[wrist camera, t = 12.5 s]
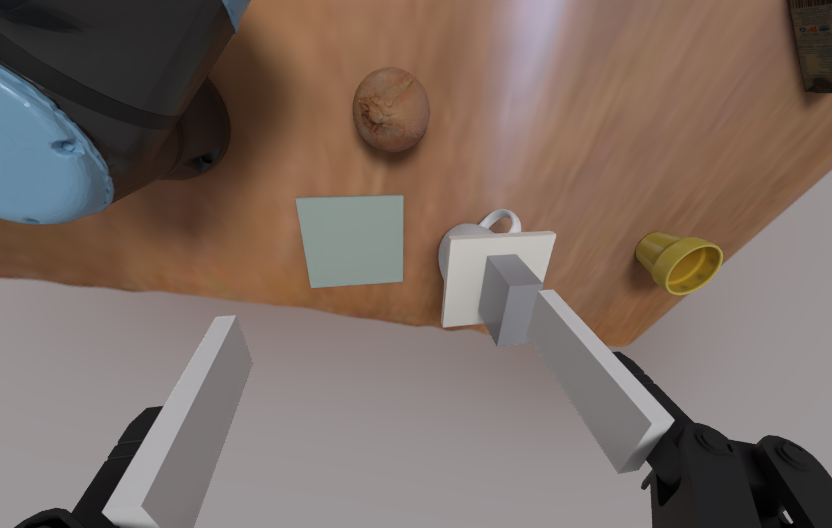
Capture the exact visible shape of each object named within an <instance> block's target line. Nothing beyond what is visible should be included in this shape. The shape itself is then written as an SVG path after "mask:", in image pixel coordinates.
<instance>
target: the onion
mask: <svg viewBox="0 0 832 528" xmlns="http://www.w3.org/2000/svg"><path fill="white" fill-rule="evenodd" d="M353 116H354V121H355V124H356V127H357V129H358V131H359V133H360V135H361V136H362V137H363V138H364V139H365V140H366V141H367V142H368V143H369V144H371V145H372V146H374V147H375V148H377V149H379V150H382V151H387V152H400V151H404V150H407V149H409V148H411V147H412V146H414V145H415V144H416V143H417V142H418V141H419V140H420V139H421V138H422V136H423V135H424V133H425V130H426V129H427V125H428V122H429V116H430V109H429V101H428V97H427V94H426V92H425V89H424V88H423V86H422V84H421V83H420V82H419V81H418V80H417V79H416V78H415V77H413V76H412V75H411V74H409V73H408V72H407V71H405V70H402V69H400V68H382V69H379V70H376V71H374V72H372V73H370V74H369V75H368V76H367V77H366V78H365V79H364V80H363V81H362V82H361V83H360V85H359V87H358V88H357V90H356V93H355V96H354V101H353Z"/></svg>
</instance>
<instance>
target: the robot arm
mask: <svg viewBox="0 0 832 528" xmlns="http://www.w3.org/2000/svg"><path fill="white" fill-rule="evenodd" d="M250 1H251V0H0V219H4V220H8V221H13V222H18V223H24V224H33V225H38V224H60V223H66V222H69V221H73V220H75V219H78V218H81V217H84V216H87V215H92V214H95V213H98V212H99V211H102V210H104V209H105V208H106V207H107V206H108V205H110V204H112V203H114V202H115V201H117V200H119V199H121V198H123V197H125V196H127V195H129V194H131V193H132V192H134V191H136V190H138V189H140V188H142V187H144V186H146V185H148V184H149V183H151V182H153V181H155V180H157V179H160V180H184V179H189V178H193V177H196V176H199V175H201V174H203V173H205V172H206V171H208V170H209V169H211V168H213V167H214V166H215V165H216V164H217V163H218V162H219V161H220V160H221V159H222V158H223V156H224V154H225V152H226V150H227V148H228V144H229V140H230V123H229V117H228V113H227V110H226V107H225V105H224V102H223V100H222V98H221V96H220V94H219V93H218V91H217V89H216V88H215V86H214V85H213V84H212V82H211V81H210V80H209V79H208V77H207V75H208V74H209V72H210V70H211V69H212V67H213V66H214V64H215V62H216V61H217V59H218V58H219V56H220V54H221V53H222V51H223V50H224V48H225V46H226V45H227V43H228V42H229V40H230V38H231V37H232V35H233V34H236V33H237V32H238V29H239V21H240V19H241V18H242V16H243V14H244V12H245V10H246V8H247V6H248V5H249V3H250ZM526 336H527V337H528V339H529V340H530V342H531V343H532V345H533V346H534V348H535V349H536V350H537V352H538V353H539V355H540V356H541V358H542V359H543V361H544V363H545V364H546V366H547V367H548V369H549V370H550V371H551V373H552V375H553V376H554V378H555V379H556V380H557V382H558V383H559V385H560V387H561V388H562V390H563V391H564V393H565V394H566V396H567V397H568V399H569V400H570V402H571V403H572V405H573V406H574V408H575V409H576V411H577V412H578V414H579V415H580V417H581V418H582V420H583V421H584V423H585V424H586V426H587V427H588V429H589V430H590V432H591V433H592V435H593V436H594V438H595V439H596V441H597V442H598V444H599V445H600V447H601V448H602V450H603V451H604V453H605V454H606V456H607V457H608V459H609V460H610V462H611V464H612V465H613V467H614V468H615V470H616V471H617V473H618V474H619V473H625V472H630V471H636V470H639V469H640V467H641V466H642V464H643V463H644V462H645V461H647V462H648V463H649V464H650V466H651V467H652V468H653V469H652V471H651V472H650V473H649V475H648V476H647V477H646V479H645V480H644V481H643V483H642V486H641V489H643V490H645V489H646V488H647V487H648V485H649V484H650V485H651V507H652V525H653V526H652V528H832V478H831V476H830V475H829V474H828V472H827V471H826V470H825V469H824V467H823V466H822V465H821V464H820V463H819V462H818V461H817V459H816V458H814V456H813V455H811V454H810V453H808V452H807V451H806V450H805V449H803V448H802V447H800V446H799V445H797V444H795V443H793V442H791V441H790V440H787V439H784V438H781V437H779V436H772V435H768V436H765V437H763V438H762V439H761V440H760V441H759V442H758V443H757V444H752V443H746V442H740V441H734V440H729V439H728V438H727V437H725V436H724V435H723V434H721V433H720V432H719V431H717V430H715V429H713V428H711V427H709V426H707V425H703V424H700V423H694V422H693V421H692V420H691V419H690V418H689V417H688V416H687V415H686V414H685V413H684V412H683V411H682V410H681V409H680V408H679V407H678V406H677V405H676V404H675V403H674V402H673V401H672V400H671V399H670V398H669V397H668V396H667V395H666V394H665V393H664V392H663V391H662V390H661V389H660V388H659V387H658V386H657V385H656V384H654V383H653V381H652V380H651V379H650V377H649V376H647V375H645V374H644V371H643V370H642V369H641V368H640V367H639V366H638V365H637V364H636V363H635V362H634V361H632V360H631V359H630V358H628V357H626V356H625V355H623V354H622V353H620V352H611V351H610V350H609V349H608V348H607V347H606V346H605V345H604V344H603V343H602V341H601V340H600V339H599V338H598V337H597V336H596V335H595V334H594V333H593V332H592V331H591V330H590V329H589V328H588V326H587V325H586V324H585V323H584V322H583V321H582V320H581V319H580V318H579V317H578V316H577V315H576V314H575V313H574V311H573V310H572V309H571V308H570V307H569V306H568V305H567V304H566V303H565V302H564V301H563V300H562V299H561V298H560V296H559V295H558V294H557V293H556V292H555V291H554V290H543V291H538V293H537V297H536V301H535V304H534V308H533V312H532V315H531V319H530V323H529V326H528V330H527V334H526ZM252 364H253V363H252V360H251V357H250V354H249V351H248V348H247V345H246V342H245V339H244V336H243V333H242V330H241V327H240V324H239V321H238V319H237V316H236V315H233V316H220V317H215V319H214V321H213V323H212V324H211V326H210V328H209V329H208V331H207V333H206V335H205V336H204V338H203V340H202V341H201V343H200V345H199V347H198V348H197V350H196V352H195V354H194V355H193V357H192V359H191V360H190V362H189V364H188V365H187V367H186V369H185V371H184V372H183V374H182V376H181V377H180V379H179V381H178V383H177V384H176V386H175V388H174V389H173V391H172V393H171V395H170V396H169V398H168V400H167V401H166V403H165V405H164V406H159V407H151V408H146V409H145V410H144V411H143V412H142V413H141V414H140V415H139V416H138V417H137V418H135V420H133V421H132V422H131V423H130V424H129V426H128V427H127V429H126V430H125V432H124V433H123V435H122V436H121V438H120V439H119V441H118V445H117V446H115V447H114V449H113V450H112V452H111V453H110V455H109V456H108V460H107V461H105V462H104V464H103V465H102V467H101V469H100V470H99V472H98V473H97V475H96V476H95V478H94V479H93V481H92V482H91V484H90V485H89V487H88V488H87V490H86V491H85V493H84V495H83V496H82V498H81V499H80V501H79V502H78V504H77V505H76V507H75V508H74V510H73V511H72V513H70V512H69V511H67V510H66V509H60V508H54V509H50V510H45V511H41V512H39V513H37V514H35V515H34V516H32V517H30V518H28V519H26V520H24V521H22V522H21V523H20V524H18V525H17V526H16V527H14V528H194V525H195V522H196V520H197V517H198V514H199V511H200V508H201V506H202V503H203V500H204V497H205V494H206V492H207V489H208V486H209V483H210V481H211V478H212V475H213V472H214V470H215V467H216V464H217V461H218V458H219V456H220V453H221V450H222V447H223V445H224V442H225V439H226V436H227V433H228V430H229V427H230V425H231V422H232V419H233V417H234V414H235V411H236V408H237V406H238V403H239V400H240V397H241V394H242V391H243V389H244V386H245V383H246V381H247V378H248V375H249V372H250V369H251V366H252ZM785 510H786V511H787V512H788V514H789V516H790V517H791V519H792V521H793V523H792V524H790V522H789V521H788V520H787V519H786V517H785V515H784V514H783V512H784V511H785Z"/></svg>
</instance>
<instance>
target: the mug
mask: <svg viewBox="0 0 832 528" xmlns="http://www.w3.org/2000/svg"><path fill="white" fill-rule="evenodd" d="M502 217H508V218H510V219H511V221H512V226H511V229H510V231H509V232H508V233H519V232H521V223H520V221H519V219H518V217H517V216H516V215H515V214H514V213H513V212H511V211H509V210H507V209H498V210H495V211H493V212H492V213H490V214H489V215H488V216H487V217H486V218H485V219H484V220H483V221H482V222H481V223H480V224H479V225H476V224H470V223H468V224H460V225H457V226H455V227H453V228H452V229H450V230H449V231H448V232H447V233H446V234H445V236H444V237H443V239H442V241H441V244H440V247H439V256H438V258H439V267H440V271H441V274H442V277H443V280H444V281H445V269H446V258H447V247H448V236H456V235H477V234H495V233H494V232H492V231H491V230H489V227H490V226H491V225H492V224H493V223H495V222H496V221H497V220H498V219H500V218H502Z"/></svg>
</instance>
